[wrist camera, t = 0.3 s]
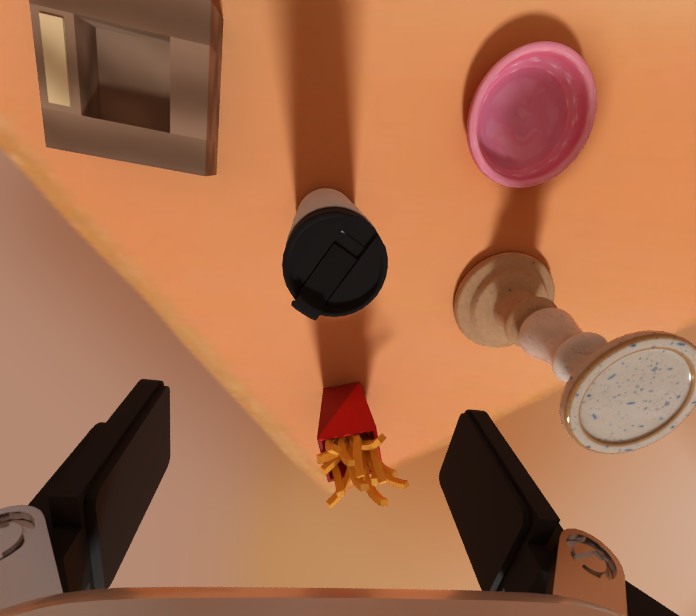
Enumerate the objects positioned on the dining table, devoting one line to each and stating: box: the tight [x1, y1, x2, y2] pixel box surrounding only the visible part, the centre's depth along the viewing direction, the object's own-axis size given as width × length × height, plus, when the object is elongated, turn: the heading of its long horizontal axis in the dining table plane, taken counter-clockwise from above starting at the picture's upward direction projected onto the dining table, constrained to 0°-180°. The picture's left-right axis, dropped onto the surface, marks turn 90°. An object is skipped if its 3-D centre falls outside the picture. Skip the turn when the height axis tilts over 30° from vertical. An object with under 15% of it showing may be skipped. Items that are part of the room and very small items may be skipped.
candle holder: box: [454, 252, 696, 454], centre depth 35 cm, size 12×12×20 cm
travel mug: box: [282, 188, 388, 320], centre depth 29 cm, size 6×7×20 cm
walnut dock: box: [29, 0, 223, 176], centre depth 31 cm, size 13×13×4 cm
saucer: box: [467, 41, 597, 188], centre depth 35 cm, size 12×12×3 cm
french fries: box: [317, 382, 409, 509], centre depth 40 cm, size 9×8×15 cm
